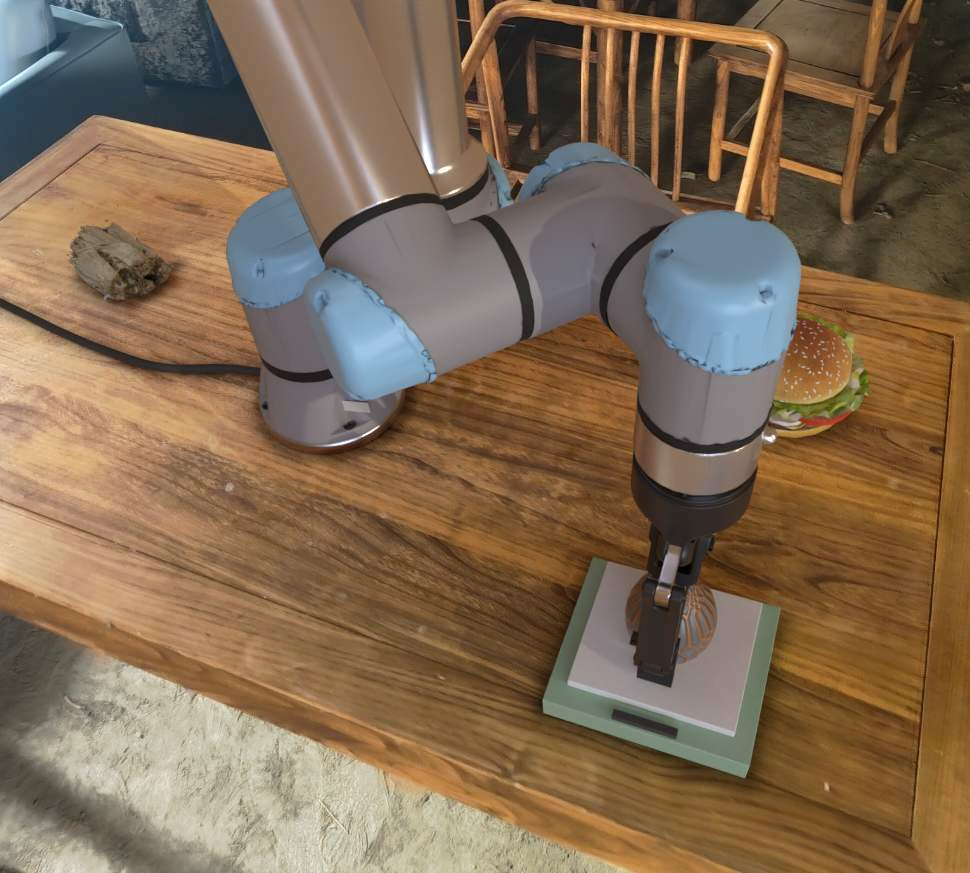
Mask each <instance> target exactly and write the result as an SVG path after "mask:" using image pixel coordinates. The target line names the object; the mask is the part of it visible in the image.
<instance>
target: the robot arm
mask: <svg viewBox="0 0 970 873" xmlns="http://www.w3.org/2000/svg"><path fill="white" fill-rule="evenodd" d="M205 1H206V3H207V6H208V8H209V10H210V12H211V14H212V16H213V20H214V21H215V23H216V26H217V27H218V30H219V32H220V34H221V37H222V39H223V41H224V43H225V46H226V48H227V50H228V52H229V55H230V57H231V59H232V62H233V63H234V67H235V68H236V71H237V73H238V74H239V77H240V79H241V82H242V84H243V86H244V88H245V90H246V93H247V95H248V97H249V100H250V102H251V104H252V106H253V109H254V111H255V113H256V115H257V116H258V120H259V121H260V124H261V126H262V128H263V131H264V133H265V135H266V137H267V140H268V141H269V144H270V146H271V149H272V151H273V153H274V155H275V157H276V159H277V162H278V164H279V166H280V169H281V171H282V173H283V176H284V177H285V180H286V183H287V184H288V186H285V187H283V188H280V189H277V190H273V191H271V192H270V193H268V194H266V195H264V196H262V197H261V198H259V199H257V200H255V201H254V202H253V203H252V204H251V205H249V206H248V207H247V208H246V209H245V210H244V211H243V212H242V213H241V214H240V215H239V216H238V217H237V219H236V220H235V224H234V225H233V226H232V227H231V229H230V230H229V231H228V232H229V233H228V235H227V237H226V242H225V259H226V262H227V266H228V269H229V273H230V278H231V287H232V290H233V293H234V294H235V296H236V298H237V299H238V301H239V302H240V304H241V307H242V309H243V312H244V315H245V319H246V321H247V324H248V326H249V329H250V333H251V336H252V339H253V341H254V344H255V345H254V346H255V348H256V350H257V353H258V355H259V359H260V367H259V366H252V365H242V364H234V363H233V364H232V363H231V364H230V363H196V364H195V363H193V364H191V363H190V364H188V363H186V364H185V363H183V364H182V363H181V364H180V363H169V362H168V363H167V362H159V361H154V360H149V359H145V358H141V357H139V356H135V355H132V354H129V353H126V352H124V351H121V350H118V349H116V348H112V347H109V346H106V345H103V344H101V343H98V342H96V341H93V340H91V339H88V338H86V337H83V336H82V335H79V334H77V333H75V332H73V331H70V330H67V329H66V328H63V327H61V326H59V325H57V324H54V323H52V322H50V321H49V320H47V319H45V318H43V317H41V316H39V315H36V314H34V313H33V312H30V311H28V310H26V309H24V308H22V307H20V306H18V305H16V304H14V303H11V302H10V301H8V300H6V299H4V298H1V297H0V308H1V309H3V310H6V311H8V312H10V313H11V314H14V315H15V316H17V317H20V318H22V319H24V320H26V321H28V322H30V323H32V324H34V325H35V326H38V327H40V328H42V329H44V330H46V331H48V332H49V333H52V334H54V335H56V336H58V337H61V338H62V339H65V340H67V341H69V342H72V343H73V344H76V345H79V346H80V347H83V348H86V349H88V350H90V351H93V352H95V353H98V354H101V355H103V356H106V357H109V358H111V359H112V358H113V359H115V360H118V361H120V362H122V363H124V364H125V363H126V364H129V365H131V366H134V367H137V368H142V369H145V370H150V371H154V372H161V373H169V374H236V375H242V376H249V377H250V376H251V377H257V378H258V377H259V384H258V385H259V386H258V407H259V408H258V409H259V411H260V414H261V418H262V420H263V422H264V425H265V427H266V429H267V430H268V432H269V433H270V435H271V436H272V437H273V438H274V439H275V440H276V441H277V442H279V443H280V444H281V445H283V446H285V447H287V448H289V449H292V450H294V451H298V452H301V453H306V454H311V455H312V454H313V455H331V454H338V453H343V452H347V451H351V450H354V449H356V448H360V447H362V446H364V445H366V444H368V443H370V442H371V441H374V440H375V439H377V438H378V437H380V436H382V434H383V433H384V432H386V431H387V430H388V429H389V428H390V427H391V426H392V425H393V424H394V423H395V421H396V420H397V418H398V417H399V416H400V414H401V412H402V409H403V408H404V407H403V406H404V405H405V399H406V389H407V388H412V387H413V386H416V385H420V384H425V383H427V384H430V383H433V382H434V381H435V380H437V378H438V377H440V376H442V375H445V374H447V373H449V372H451V371H453V370H456V369H458V368H460V367H463V366H465V365H468V364H470V363H473V362H475V361H477V360H480V359H483V358H485V357H487V356H489V355H491V354H494V353H497V352H499V351H501V350H504V349H506V348H508V347H511V346H513V345H516V344H519V343H521V342H523V341H528V340H530V339H533V338H535V337H538V336H541V335H543V334H545V333H547V332H550V331H553V330H555V329H557V328H560V327H562V326H565V325H567V324H569V323H571V322H575V321H577V320H579V319H581V318H584V317H587V316H589V315H591V314H592V315H594V316H596V317H597V318H598V319H599V320H600V321H601V322H602V323H603V324H604V326H605V327H607V328H608V329H609V331H611V333H612V334H613V335H615V336H616V337H617V338H619V339H620V340H621V341H622V343H623V344H624V345H625V346H626V347H627V348H628V349H629V350H630V351H631V352H632V353H633V354H634V356H635V357H636V359H637V362H638V366H639V367H638V385H637V393H636V401H635V413H634V423H633V434H632V435H633V436H632V460H631V471H630V490H631V496H632V498H633V501H634V504H635V505H636V507H637V508H638V510H639V511H640V512H641V513H642V515H643V516H645V518H646V519H647V520H648V521H650V526H649V531H648V540H649V542H650V546H649V552H648V559H647V564H646V571H647V572H649V573H650V574H651V575H652V576H649V578H647V579H646V580H645V582H644V583H643V585H642V589H641V590H643V591H642V592H643V594H642V610H641V617H640V624H639V631H638V632H636V631H633V633H632V636H631V639H630V642H629V645H633V646H636V652H635V653H634V657H633V660H634V665H635V666H638V668H637V678H640V679H643V680H647V681H650V682H653V683H656V684H660V685H663V686H666V687H670V688H671V686H672V682H673V678H674V673H675V667H676V662H677V656H678V651H679V646H680V640H681V638H678V636H679V632H680V627H681V622H682V618H683V613H684V608H685V604H686V599H687V594H688V590H689V586H691V585H695V584H696V583H697V581H698V577H700V574H701V569H702V566H703V561H704V558H705V556H706V555H707V554H708V552H709V553H713V551H714V547H715V543H716V538H717V536H716V537H715V536H713V535H714V534H718V533H721V532H724V531H725V530H727V529H729V528H731V527H733V525H735V524H736V523H738V522H739V521H740V520H741V518H743V516H744V515H745V513H746V512H747V510H748V508H749V506H750V503H751V501H752V500H751V499H752V496H753V495H752V494H753V493H754V492H753V491H754V486H755V483H756V479H757V475H758V469H759V461H760V458H761V455H762V454H761V453H762V450H763V446H764V445H767V446H769V445H770V446H771V445H774V444H775V443H776V441H777V439H778V436H777V431H776V429H773V428H768V427H767V425H768V421H769V419H770V415H771V411H772V404H773V399H774V396H775V392H776V388H777V384H778V380H779V377H780V374H781V370H782V367H783V364H784V360H785V357H786V354H787V350H788V347H789V344H790V342H791V341H792V339H793V335H794V332H795V329H796V324H797V319H796V316H797V314H798V312H797V310H798V309H797V308H798V303H799V302H798V301H799V294H800V287H801V280H802V263H801V259H800V257H799V253H798V250H797V248H796V247H795V245H794V243H793V242H792V240H791V239H790V238H789V237H788V236H787V234H786V233H784V231H783V230H781V229H780V228H779V227H777V226H776V225H774V224H772V223H771V222H769V221H767V220H764V219H762V220H751V219H749V218H748V217H746V214H745V213H744V212H741V211H736V210H727V209H713V210H705V211H698V212H694V213H691V214H688V215H687V213H685V212H684V211H683V210H682V209H681V208H680V207H679V206H678V205H677V204H676V203H674V202H673V200H672V199H670V198H669V197H668V196H667V194H665V193H664V192H663V191H662V189H659V187H658V186H657V185H656V184H655V182H653V181H652V179H651V178H650V176H649V175H647V173H645V172H644V171H643V170H642V169H640V168H639V167H638V166H636V165H633V164H631V163H630V162H629V161H628V160H626V158H624V157H621V156H620V155H618V154H617V153H615V152H613V151H612V150H610V149H609V148H608V147H606V146H604V145H602V144H599V143H596V142H590V141H589V142H588V141H579V142H573V143H572V142H571V143H568V144H565V145H562V146H560V147H558V148H556V149H554V150H552V151H551V152H549V154H548V157H547V158H545V159H544V160H543V162H541V163H540V164H539V165H535V166H534V167H533V168H532V169H531V170H530V171H529V173H528V174H527V175H526V177H525V179H524V181H523V182H522V186H521V188H520V189H519V193H518V196H517V201H516V202H515V200H514V199H513V198H512V196H511V191H512V188H511V184H510V181H509V177H508V176H507V174H506V172H505V170H504V168H503V167H502V165H501V164H500V162H499V161H498V160H497V158H496V157H494V156H493V155H492V154H491V153H489V152H487V150H486V147H485V146H484V145H483V144H482V142H481V141H480V140H479V139H478V138H476V137H474V136H473V135H471V134H470V133H469V126H468V117H467V116H468V114H467V106H466V97H465V96H466V95H465V87H464V75H463V67H462V64H463V63H462V54H461V46H460V35H459V25H458V14H457V5H456V4H457V3H456V0H205Z"/></svg>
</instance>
